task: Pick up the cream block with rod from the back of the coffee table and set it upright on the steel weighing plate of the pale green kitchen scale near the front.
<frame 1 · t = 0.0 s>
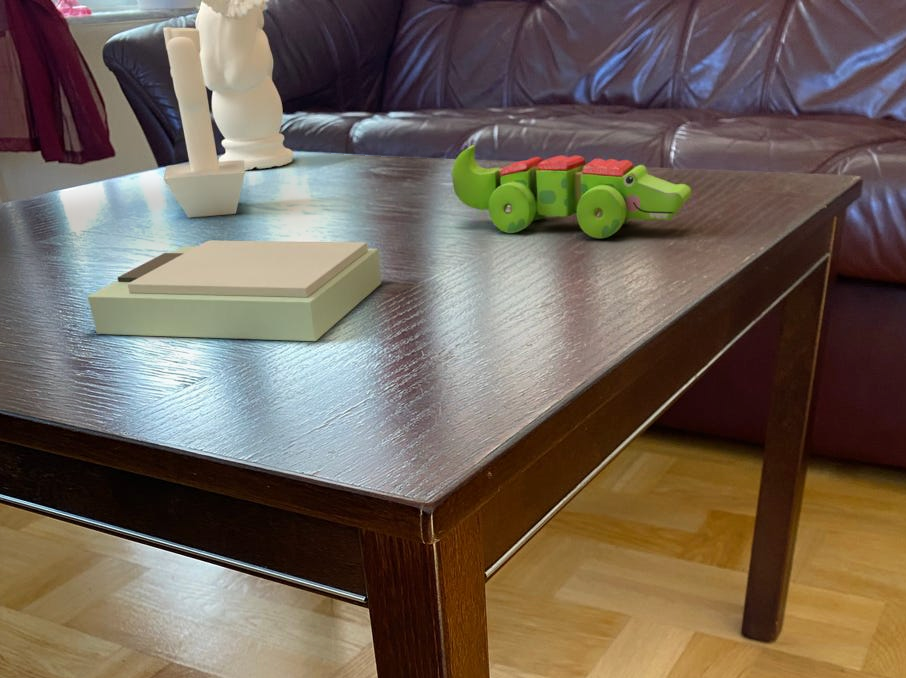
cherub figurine: (265, 167, 117), on the table
toy crocodile: (567, 230, 84), on the table
scale: (246, 307, 69), on the table
cream block with rod: (212, 213, 97), on the table
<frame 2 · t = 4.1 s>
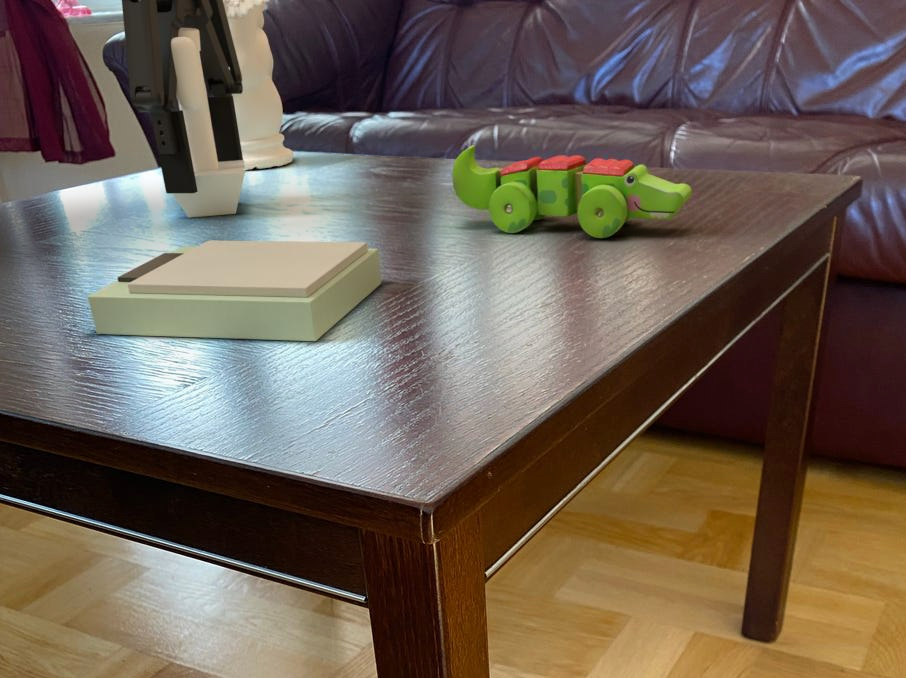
hand: (207, 181, 95), 3 cm above the table, tool pointing down, fingers closed on cream block with rod, 9 cm apart
cream block with rod: (212, 213, 97), on the table, touching gripper
everything else where it was.
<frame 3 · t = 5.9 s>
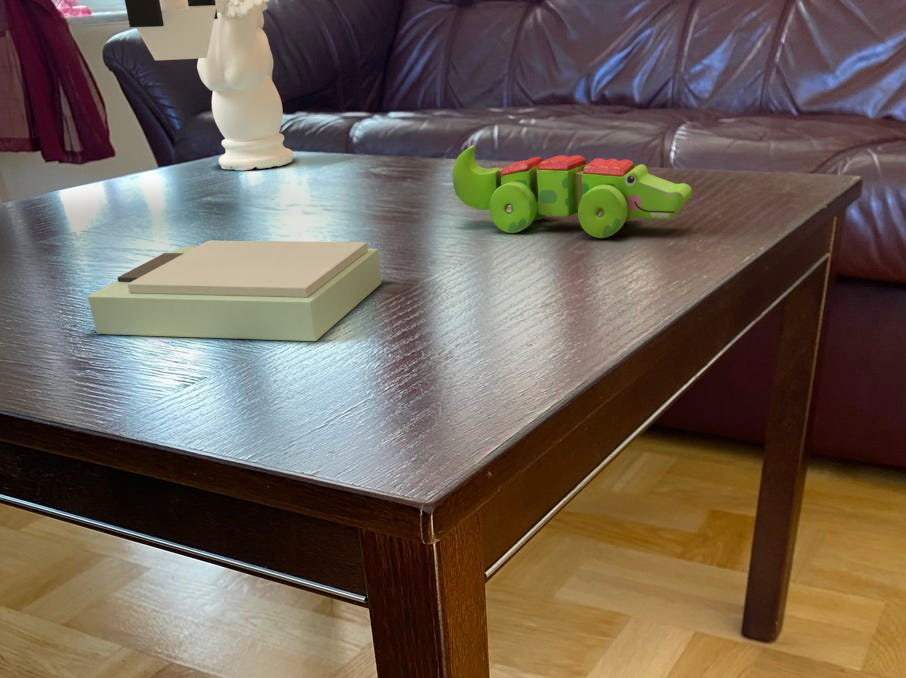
hand: (175, 22, 88), 15 cm above the table, tool pointing down, fingers closed on cream block with rod, 9 cm apart
cream block with rod: (182, 60, 89), point 12 cm above the table, touching gripper
everything else where it was.
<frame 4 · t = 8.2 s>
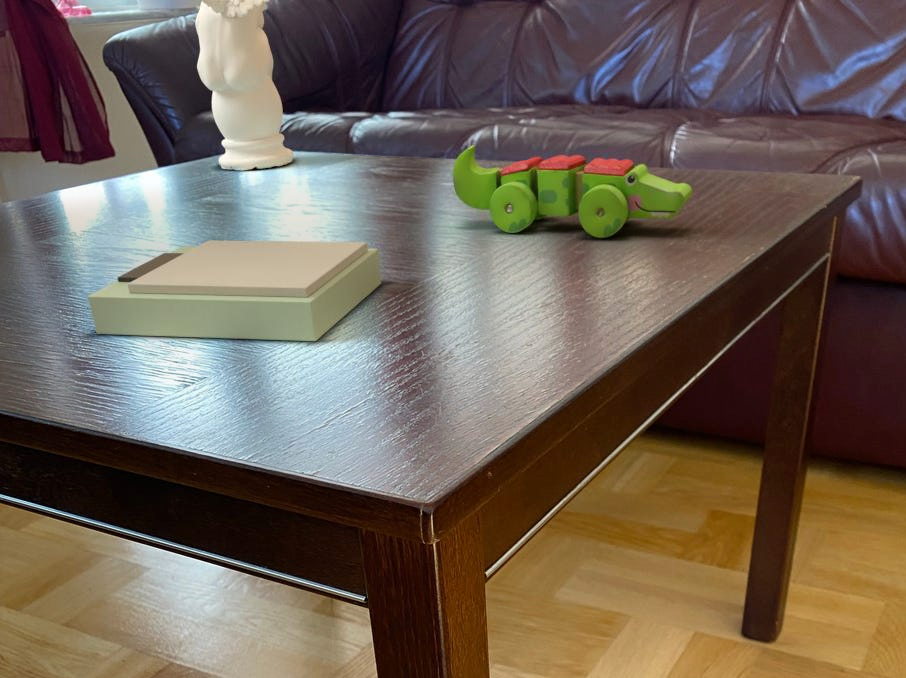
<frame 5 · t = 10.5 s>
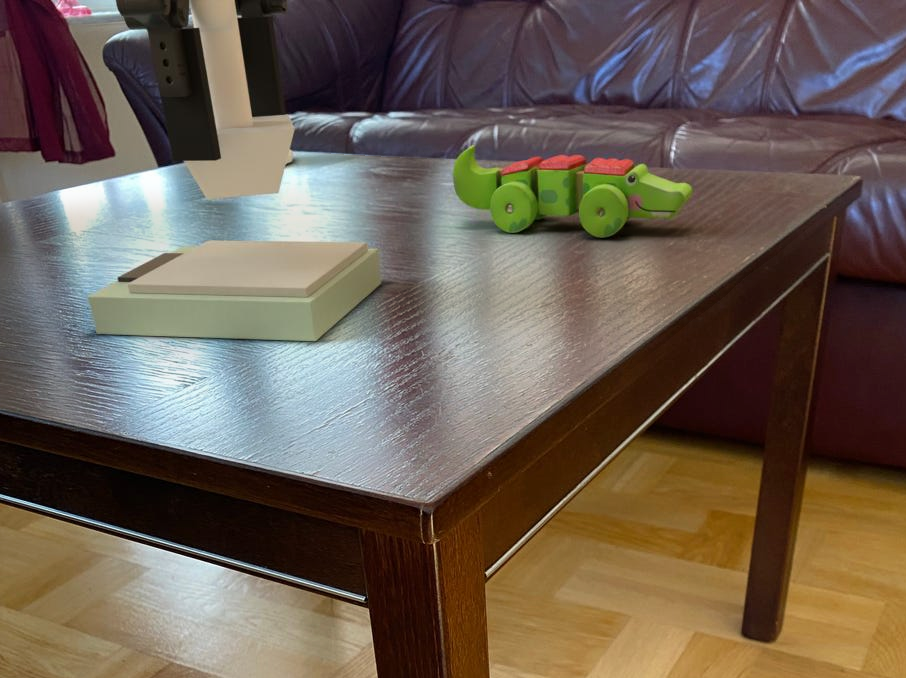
hand: (234, 145, 63), 10 cm above the table, tool pointing down, fingers closed on cream block with rod, 9 cm apart
cream block with rod: (242, 193, 65), point 7 cm above the table, touching gripper
everything else where it was.
when the fingers open (6 cm above the table, at t = 12.3 s): cream block with rod stays where it is, resting on scale.
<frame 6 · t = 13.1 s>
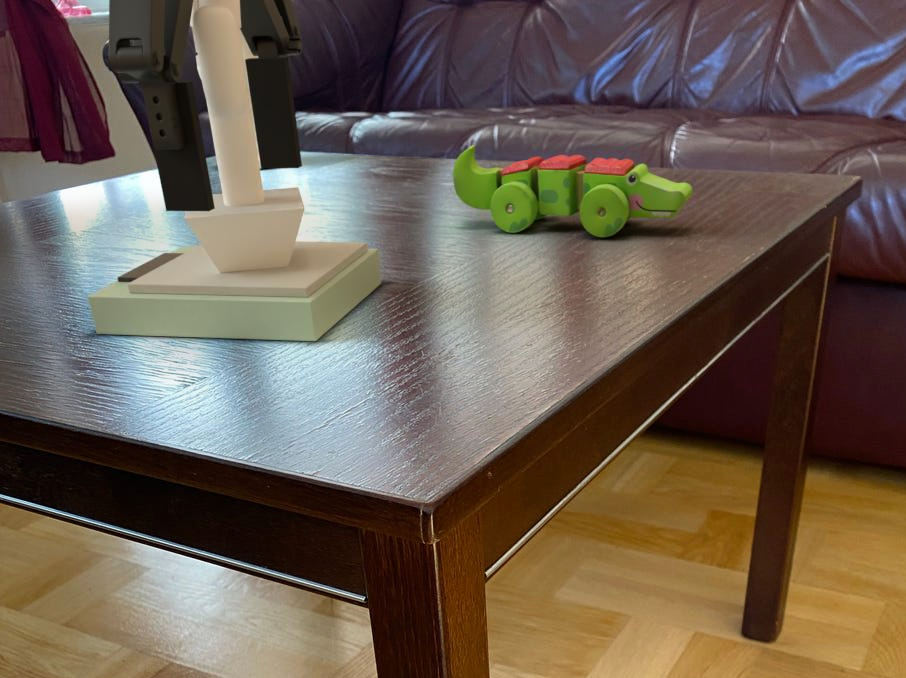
hand: (240, 187, 64), 8 cm above the table, tool pointing down, fingers open, 13 cm apart
cream block with rod: (254, 264, 67), point 3 cm above the table, touching scale
everything else where it was.
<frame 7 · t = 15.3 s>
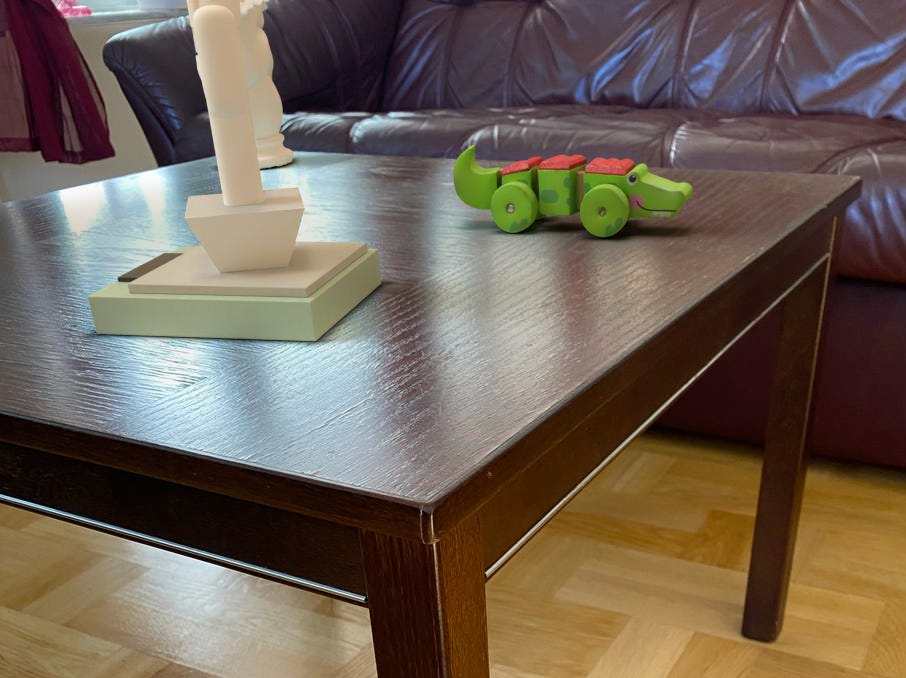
nothing on the table moved.
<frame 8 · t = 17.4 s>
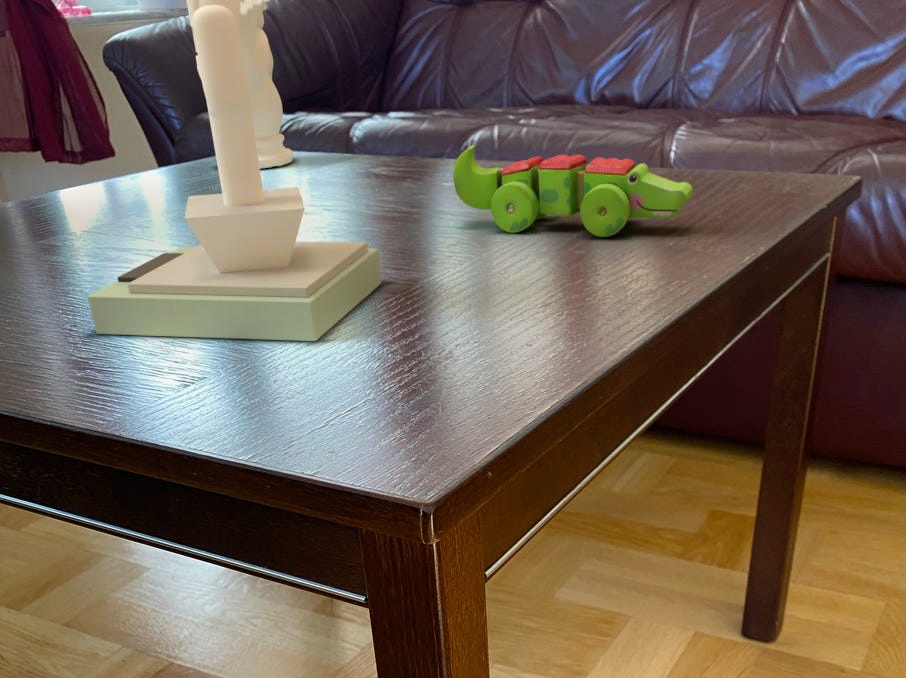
nothing on the table moved.
at the end: cream block with rod inside the target area on the scale (0.1 cm from its centre), point 2.8 cm above the scale's base; cream block with rod tilted 0°; the gripper is holding nothing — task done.
